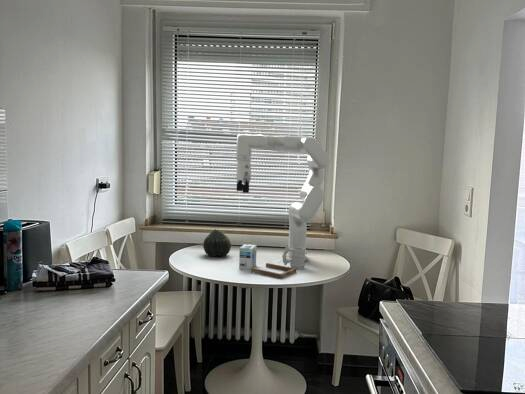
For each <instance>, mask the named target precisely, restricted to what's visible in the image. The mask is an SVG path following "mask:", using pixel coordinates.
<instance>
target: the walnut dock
mask: <svg viewBox="0 0 525 394" xmlns="http://www.w3.org/2000/svg"><path fill="white" fill-rule="evenodd" d="M265 268H267V269H268V268H269V269H271V270H278V271H283V272H281V273H278V272H274V271H270V270H269V271H268V270H264V269H259V268H255V267H254V268H251V270H250V273H253V274H257V275H262V276H266V277H270V278H275V279H280V280H282V279H284V278H287V277H290V276H292V275H294V274H297V270H298V269H295V268H291V266H290V267H289V266H286V265H279V264H275V263H269V262H266V264H265Z"/></svg>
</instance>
